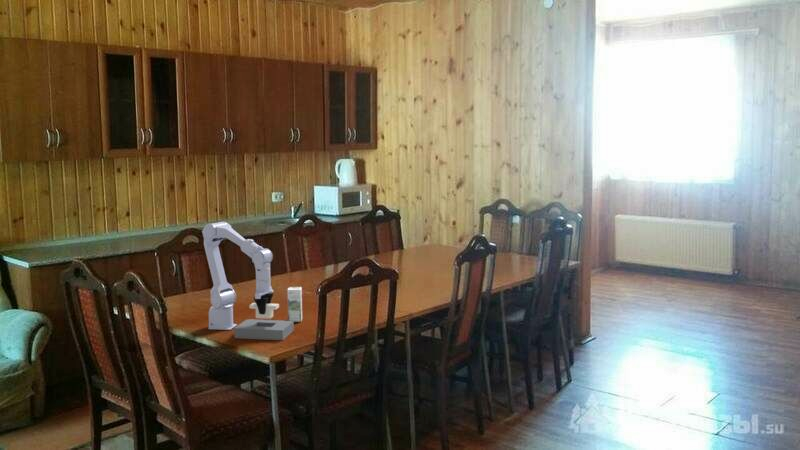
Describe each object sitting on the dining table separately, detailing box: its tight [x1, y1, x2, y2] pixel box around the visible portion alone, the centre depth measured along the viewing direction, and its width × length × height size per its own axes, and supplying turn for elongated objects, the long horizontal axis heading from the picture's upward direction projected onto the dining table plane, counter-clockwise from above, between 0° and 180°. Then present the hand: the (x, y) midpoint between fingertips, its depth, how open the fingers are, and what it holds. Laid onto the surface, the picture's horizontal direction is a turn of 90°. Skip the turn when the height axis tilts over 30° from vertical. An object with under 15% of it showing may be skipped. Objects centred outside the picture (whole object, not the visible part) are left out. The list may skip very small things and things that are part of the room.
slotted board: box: [233, 318, 295, 341], centre depth 293 cm, size 20×14×4 cm
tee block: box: [248, 302, 280, 320], centre depth 292 cm, size 11×4×5 cm, turn 81°
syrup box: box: [286, 286, 303, 323], centre depth 313 cm, size 6×6×14 cm
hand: (264, 312), depth 292 cm, fingers closed on tee block, 4 cm apart
